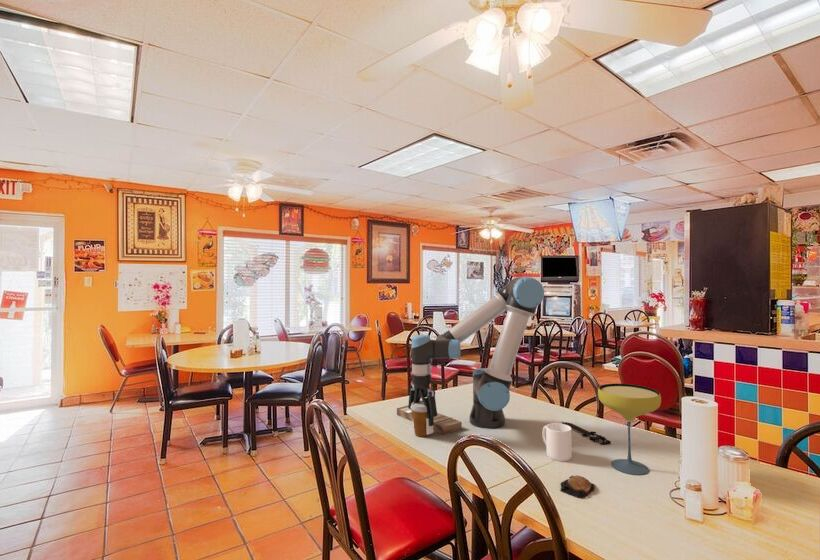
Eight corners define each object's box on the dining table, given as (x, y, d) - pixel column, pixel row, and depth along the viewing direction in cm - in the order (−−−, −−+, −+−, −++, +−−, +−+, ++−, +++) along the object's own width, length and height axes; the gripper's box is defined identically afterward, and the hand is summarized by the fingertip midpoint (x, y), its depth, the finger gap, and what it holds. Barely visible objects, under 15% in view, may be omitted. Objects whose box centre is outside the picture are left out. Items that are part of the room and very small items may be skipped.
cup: (558, 463, 137) (558, 433, 137) (534, 450, 148) (533, 422, 148) (577, 458, 141) (576, 429, 141) (551, 446, 152) (551, 418, 152)
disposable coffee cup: (435, 429, 169) (434, 400, 169) (434, 438, 160) (433, 407, 160) (412, 429, 170) (411, 400, 170) (409, 437, 161) (409, 407, 161)
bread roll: (570, 479, 128) (570, 467, 128) (598, 488, 122) (598, 475, 122) (555, 492, 120) (555, 479, 120) (585, 502, 114) (584, 489, 114)
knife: (558, 423, 176) (558, 420, 176) (571, 422, 177) (571, 419, 177) (598, 446, 151) (598, 443, 151) (613, 444, 153) (613, 441, 153)
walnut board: (461, 429, 170) (461, 421, 170) (443, 435, 164) (443, 427, 164) (414, 410, 195) (413, 403, 195) (396, 414, 189) (396, 407, 189)
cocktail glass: (598, 452, 146) (596, 381, 145) (656, 459, 139) (655, 385, 139) (600, 474, 129) (599, 395, 129) (667, 485, 122) (666, 400, 122)
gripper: (446, 376, 159) (447, 435, 159) (412, 368, 176) (414, 421, 176) (431, 380, 154) (432, 440, 154) (398, 370, 171) (399, 425, 171)
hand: (422, 430), depth 165 cm, fingers closed on disposable coffee cup, 8 cm apart
